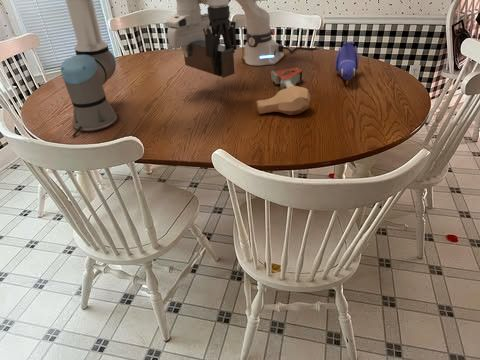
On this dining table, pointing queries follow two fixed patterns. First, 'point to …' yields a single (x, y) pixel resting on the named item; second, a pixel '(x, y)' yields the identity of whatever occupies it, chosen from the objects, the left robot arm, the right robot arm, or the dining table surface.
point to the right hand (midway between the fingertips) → (194, 54)
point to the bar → (205, 63)
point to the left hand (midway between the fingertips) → (223, 72)
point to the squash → (286, 101)
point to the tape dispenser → (287, 77)
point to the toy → (347, 61)
